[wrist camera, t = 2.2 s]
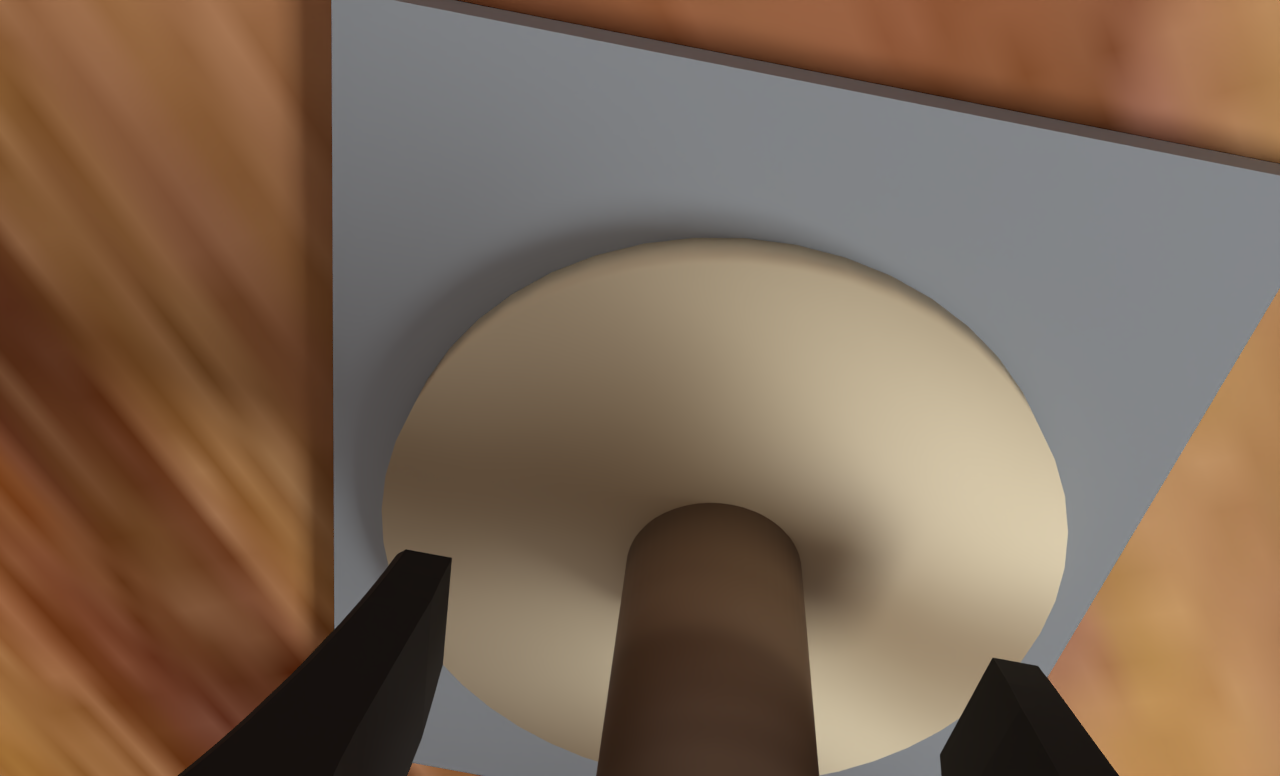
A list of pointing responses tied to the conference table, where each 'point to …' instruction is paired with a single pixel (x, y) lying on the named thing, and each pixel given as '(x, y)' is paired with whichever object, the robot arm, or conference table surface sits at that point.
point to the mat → (777, 212)
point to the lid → (728, 510)
